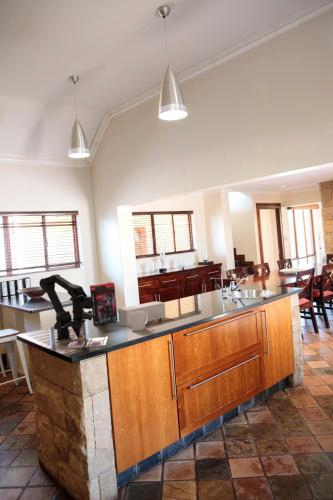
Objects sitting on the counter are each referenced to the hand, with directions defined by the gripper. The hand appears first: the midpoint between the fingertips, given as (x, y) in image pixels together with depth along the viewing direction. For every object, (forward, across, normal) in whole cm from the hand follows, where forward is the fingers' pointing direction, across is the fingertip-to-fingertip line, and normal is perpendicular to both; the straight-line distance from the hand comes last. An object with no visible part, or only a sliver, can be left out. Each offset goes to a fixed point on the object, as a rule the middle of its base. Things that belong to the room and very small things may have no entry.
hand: (79, 335), depth 216 cm
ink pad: (+3, -11, 0) cm, 11 cm away
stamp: (+3, 0, 0) cm, 3 cm away
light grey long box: (+4, +39, -37) cm, 54 cm away
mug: (+3, +14, -35) cm, 38 cm away
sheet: (+3, -6, -10) cm, 13 cm away
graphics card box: (+3, +41, -11) cm, 43 cm away
